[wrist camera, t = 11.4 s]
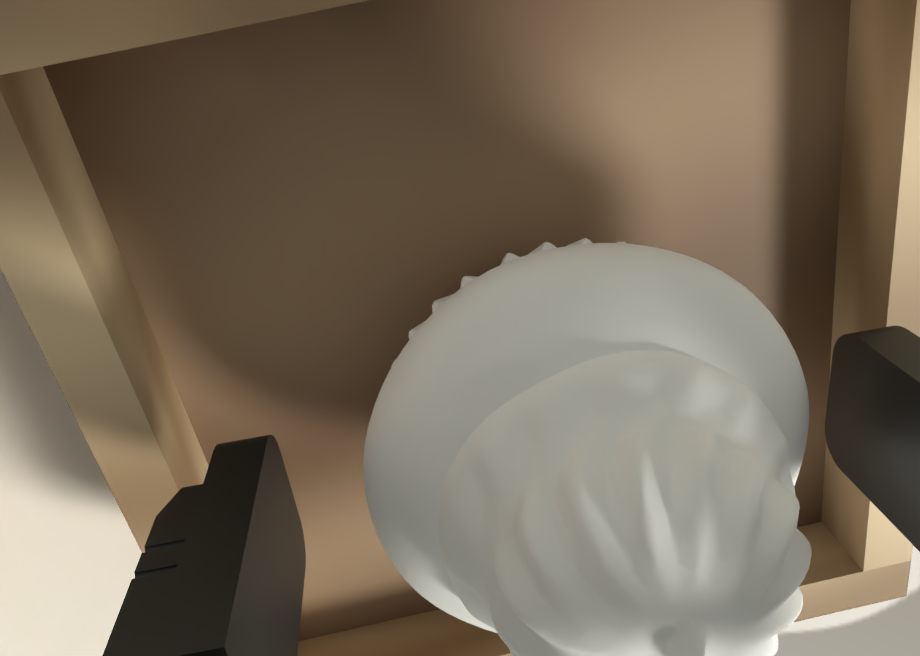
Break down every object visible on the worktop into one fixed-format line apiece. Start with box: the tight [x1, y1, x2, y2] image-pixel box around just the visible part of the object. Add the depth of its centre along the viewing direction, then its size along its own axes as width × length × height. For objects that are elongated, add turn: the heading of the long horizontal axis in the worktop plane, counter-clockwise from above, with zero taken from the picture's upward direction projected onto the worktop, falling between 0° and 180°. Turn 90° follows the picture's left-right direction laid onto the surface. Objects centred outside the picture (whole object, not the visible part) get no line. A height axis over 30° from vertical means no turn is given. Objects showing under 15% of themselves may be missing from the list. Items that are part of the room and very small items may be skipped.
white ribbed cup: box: [363, 238, 812, 656], centre depth 10 cm, size 6×6×7 cm
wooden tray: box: [0, 0, 920, 656], centre depth 15 cm, size 14×14×6 cm
